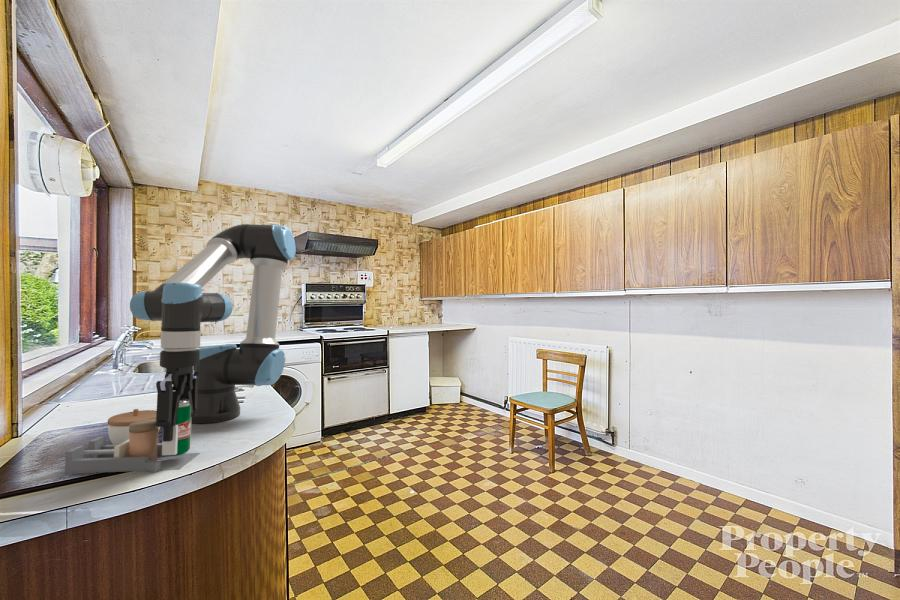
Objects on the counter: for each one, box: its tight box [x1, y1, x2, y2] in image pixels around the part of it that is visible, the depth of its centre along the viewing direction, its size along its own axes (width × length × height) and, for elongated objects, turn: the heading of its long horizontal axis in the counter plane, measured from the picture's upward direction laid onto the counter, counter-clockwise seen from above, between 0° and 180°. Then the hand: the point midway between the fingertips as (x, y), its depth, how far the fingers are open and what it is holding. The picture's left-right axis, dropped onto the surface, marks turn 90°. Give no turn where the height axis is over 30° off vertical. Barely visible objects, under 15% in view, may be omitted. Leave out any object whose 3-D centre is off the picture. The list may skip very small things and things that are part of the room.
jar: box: [129, 419, 160, 461], centre depth 87 cm, size 5×5×9 cm
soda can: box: [166, 399, 192, 456], centre depth 88 cm, size 5×5×12 cm
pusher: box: [84, 440, 129, 457], centre depth 86 cm, size 6×11×4 cm, turn 99°
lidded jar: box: [107, 408, 161, 445], centre depth 98 cm, size 11×11×9 cm
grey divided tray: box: [64, 435, 201, 475], centre depth 87 cm, size 12×22×5 cm, turn 99°
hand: (176, 449), depth 88 cm, fingers closed on soda can, 5 cm apart
